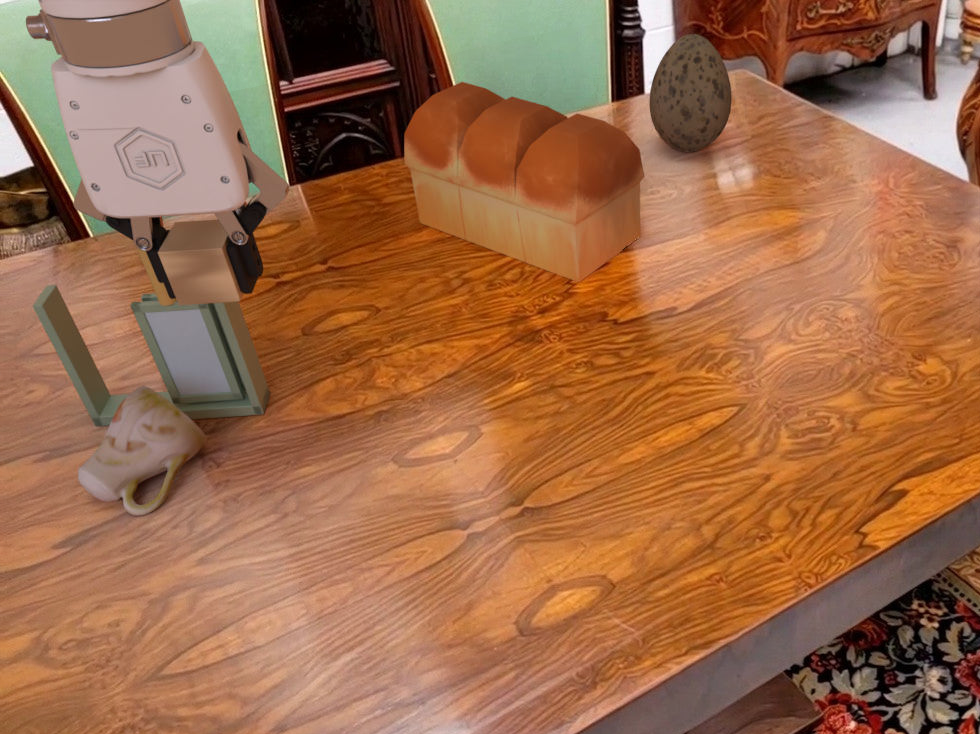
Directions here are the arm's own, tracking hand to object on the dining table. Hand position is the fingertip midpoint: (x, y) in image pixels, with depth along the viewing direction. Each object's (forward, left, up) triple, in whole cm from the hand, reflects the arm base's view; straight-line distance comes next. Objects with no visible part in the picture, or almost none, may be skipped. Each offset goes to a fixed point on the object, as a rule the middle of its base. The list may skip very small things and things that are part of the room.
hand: (215, 284), depth 69 cm
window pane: (-7, +7, -16) cm, 19 cm away
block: (0, 0, 0) cm, 0 cm away
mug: (-11, -1, -18) cm, 21 cm away
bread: (+22, +38, -18) cm, 47 cm away
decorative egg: (+44, +58, -18) cm, 75 cm away
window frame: (-10, +8, -18) cm, 22 cm away
